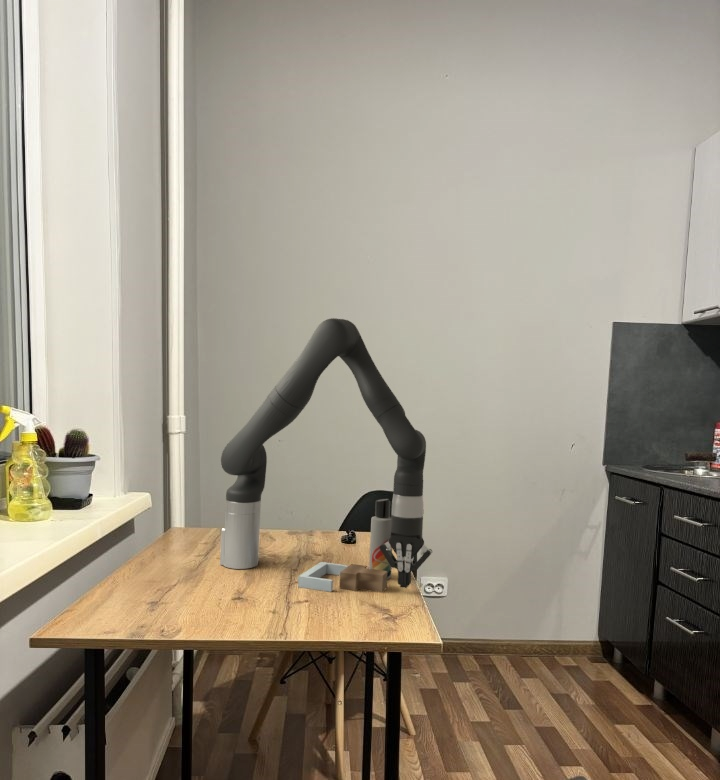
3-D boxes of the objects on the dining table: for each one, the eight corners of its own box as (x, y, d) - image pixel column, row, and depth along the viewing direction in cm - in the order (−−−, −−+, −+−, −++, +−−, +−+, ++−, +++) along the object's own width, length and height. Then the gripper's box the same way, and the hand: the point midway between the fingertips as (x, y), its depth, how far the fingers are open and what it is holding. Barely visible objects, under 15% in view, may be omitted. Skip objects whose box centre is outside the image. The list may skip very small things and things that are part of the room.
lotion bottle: (389, 581, 145) (392, 501, 146) (367, 578, 146) (370, 499, 147) (392, 574, 151) (395, 497, 151) (371, 572, 152) (374, 496, 152)
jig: (297, 586, 138) (298, 576, 138) (320, 571, 151) (321, 561, 151) (330, 591, 135) (331, 581, 135) (351, 575, 148) (351, 565, 149)
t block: (339, 589, 138) (340, 572, 138) (350, 579, 145) (351, 563, 145) (379, 595, 135) (380, 577, 135) (389, 585, 142) (389, 568, 142)
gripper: (375, 513, 136) (372, 587, 135) (431, 519, 131) (428, 595, 131) (384, 508, 143) (382, 578, 142) (437, 513, 139) (435, 586, 138)
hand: (404, 586), depth 137 cm, fingers closed
